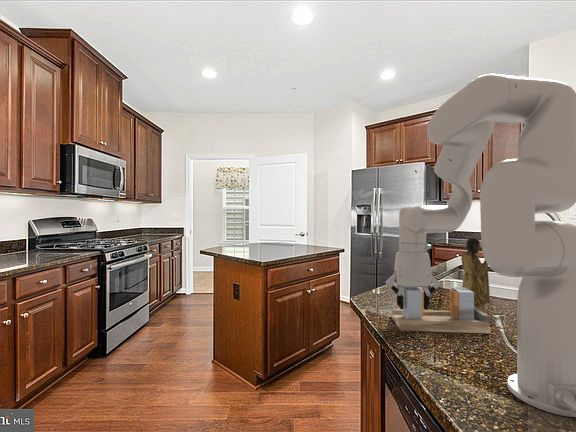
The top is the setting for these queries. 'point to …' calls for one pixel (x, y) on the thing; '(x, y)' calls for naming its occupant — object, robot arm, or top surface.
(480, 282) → the statue
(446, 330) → the jaw rail
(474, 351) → the top surface
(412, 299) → the grey upright block
